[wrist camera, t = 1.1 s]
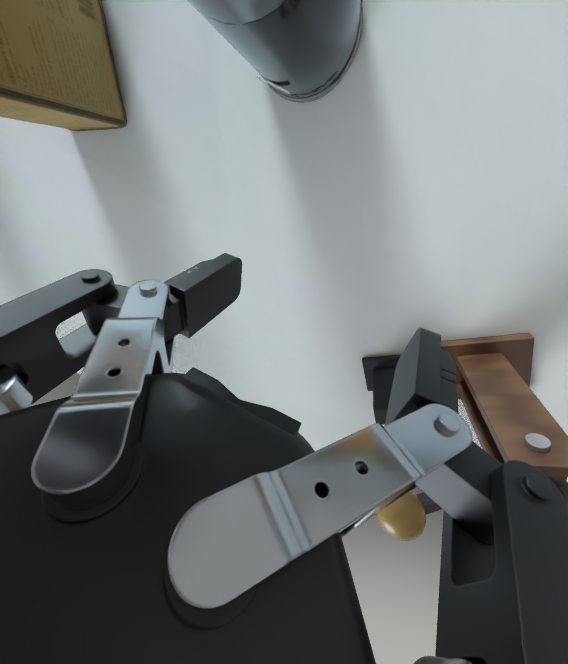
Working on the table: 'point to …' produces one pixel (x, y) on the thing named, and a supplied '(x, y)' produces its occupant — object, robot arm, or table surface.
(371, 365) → the stop post
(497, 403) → the brown wooden upright frame
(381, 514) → the lever with ball knob
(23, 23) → the food packaging
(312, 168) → the table surface
